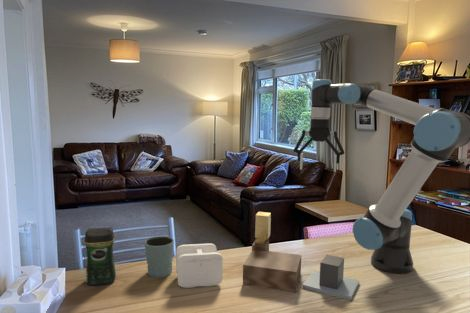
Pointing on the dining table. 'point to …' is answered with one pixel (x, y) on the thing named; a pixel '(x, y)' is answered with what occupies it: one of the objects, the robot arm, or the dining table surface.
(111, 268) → the coffee jar
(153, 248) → the teal cup
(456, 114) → the robot arm
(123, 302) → the dining table surface
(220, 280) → the white rounded double-panel block
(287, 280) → the walnut box
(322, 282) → the cover
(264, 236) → the pale yellow upright block
